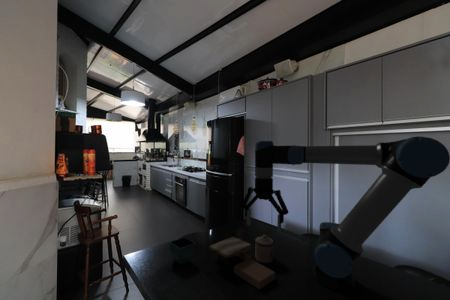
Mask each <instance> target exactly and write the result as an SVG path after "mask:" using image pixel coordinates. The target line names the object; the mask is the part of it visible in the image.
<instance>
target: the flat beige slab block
mask: <svg viewBox="0 0 450 300" xmlns="http://www.w3.org/2000/svg"><path fill="white" fill-rule="evenodd" d="M208 249H209V250H211V251H213V252H214V261H215V262H217V263H220V262H222V257H224V258H226V259H227V260H228V259H230V258H232V257H234V256H235V257H237V258H239V259H240V260H242V261H245V260H247V259H249V258H250V259H252V244H251V243H248V242H247V241H244V240H242V239H240V238H237V237H235V236H230V237H228V238H226V239H223V240H221V241H219V242H216V243H213V244H210V245H208Z"/></svg>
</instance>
